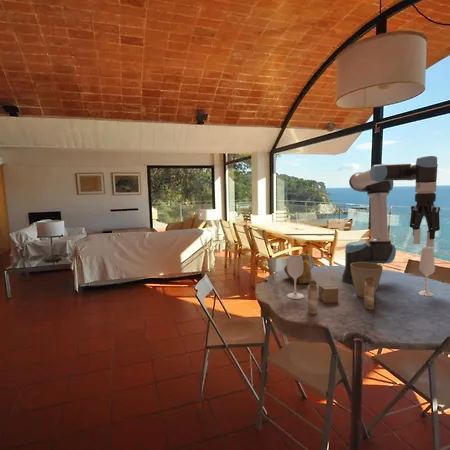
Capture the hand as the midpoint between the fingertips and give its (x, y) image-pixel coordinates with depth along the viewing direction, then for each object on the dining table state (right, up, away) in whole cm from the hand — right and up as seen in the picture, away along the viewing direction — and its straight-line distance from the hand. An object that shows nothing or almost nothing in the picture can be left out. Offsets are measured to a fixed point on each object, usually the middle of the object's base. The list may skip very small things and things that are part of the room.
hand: (423, 245), depth 131 cm
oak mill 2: (-21, -29, +6) cm, 36 cm away
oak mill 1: (-48, -30, +3) cm, 57 cm away
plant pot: (-15, -28, +21) cm, 38 cm away
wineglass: (-51, -28, +23) cm, 63 cm away
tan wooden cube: (-36, -29, +17) cm, 49 cm away
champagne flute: (+16, -27, +22) cm, 38 cm away
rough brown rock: (-42, -25, +53) cm, 72 cm away
